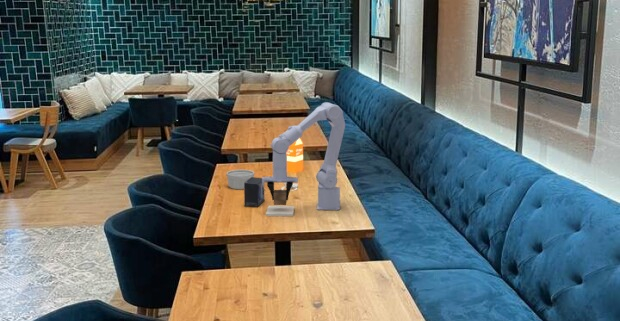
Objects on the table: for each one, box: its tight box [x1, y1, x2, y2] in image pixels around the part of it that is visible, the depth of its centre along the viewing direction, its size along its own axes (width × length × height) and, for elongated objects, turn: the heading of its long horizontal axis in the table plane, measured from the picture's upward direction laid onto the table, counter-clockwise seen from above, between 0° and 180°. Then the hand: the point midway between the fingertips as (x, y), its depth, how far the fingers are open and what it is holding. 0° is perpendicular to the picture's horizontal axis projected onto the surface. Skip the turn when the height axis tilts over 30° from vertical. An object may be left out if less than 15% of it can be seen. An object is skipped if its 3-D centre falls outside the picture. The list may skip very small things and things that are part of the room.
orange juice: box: [287, 137, 304, 174], centre depth 313 cm, size 8×9×20 cm
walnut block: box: [273, 189, 288, 206], centre depth 243 cm, size 5×5×5 cm
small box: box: [243, 176, 265, 208], centre depth 255 cm, size 11×6×10 cm, turn 168°
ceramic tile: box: [265, 205, 295, 217], centre depth 244 cm, size 11×11×1 cm
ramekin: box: [226, 169, 255, 190], centre depth 283 cm, size 13×13×7 cm
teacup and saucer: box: [280, 183, 299, 192], centre depth 280 cm, size 9×8×4 cm
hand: (280, 199), depth 243 cm, fingers closed on walnut block, 5 cm apart
